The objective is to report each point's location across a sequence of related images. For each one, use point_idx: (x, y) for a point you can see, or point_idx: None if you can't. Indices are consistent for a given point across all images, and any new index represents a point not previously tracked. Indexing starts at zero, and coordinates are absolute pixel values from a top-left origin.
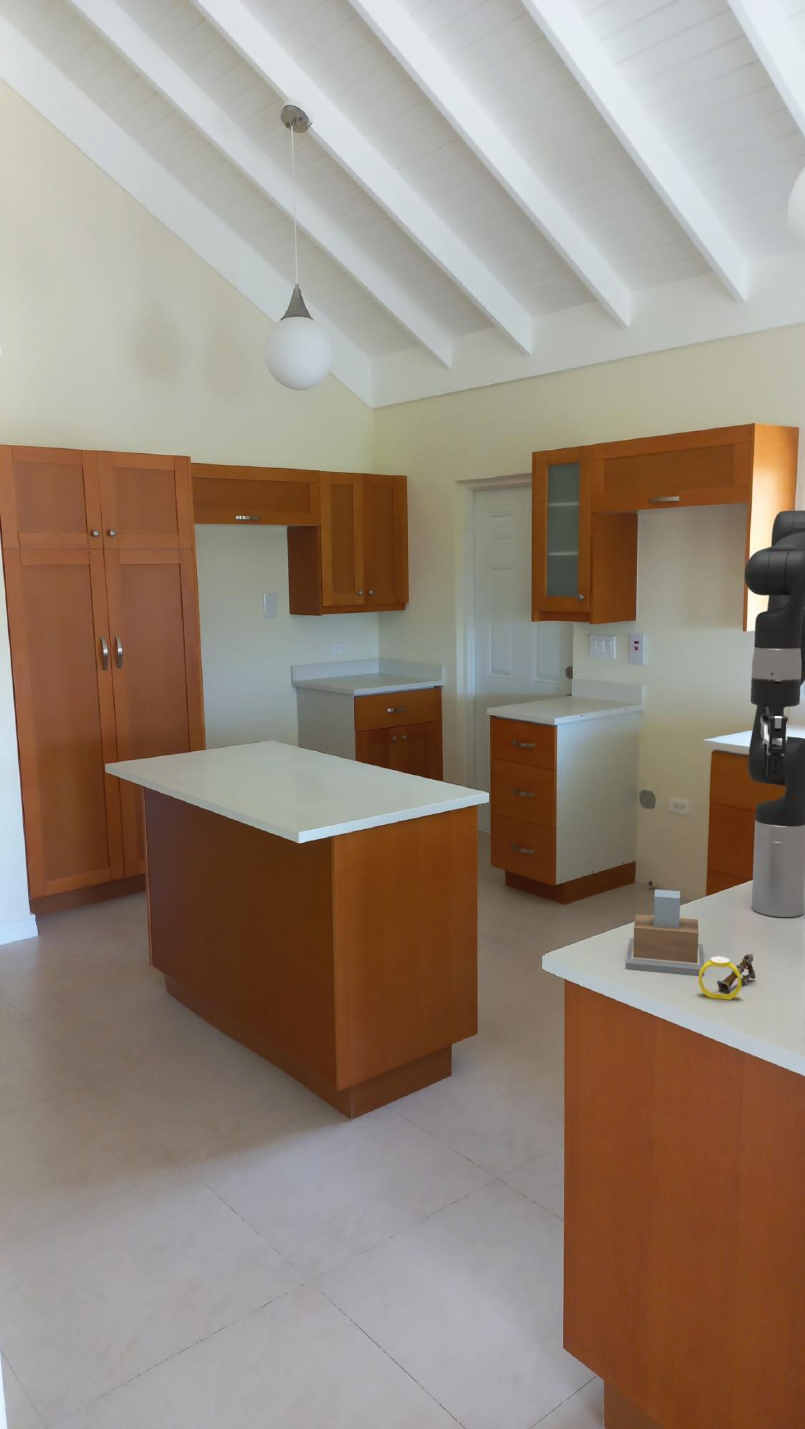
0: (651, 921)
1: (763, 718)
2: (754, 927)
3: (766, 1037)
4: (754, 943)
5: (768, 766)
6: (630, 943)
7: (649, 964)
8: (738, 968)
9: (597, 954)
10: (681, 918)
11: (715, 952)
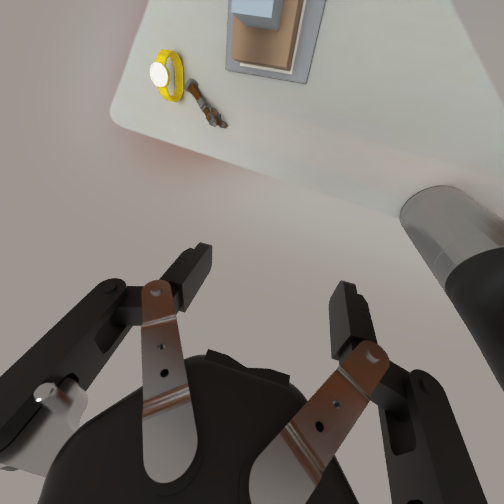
0: None
1: (147, 464)
2: (377, 169)
3: (118, 106)
4: (325, 154)
5: (185, 261)
6: None
7: None
8: (201, 106)
9: None
10: (289, 36)
11: (298, 100)
